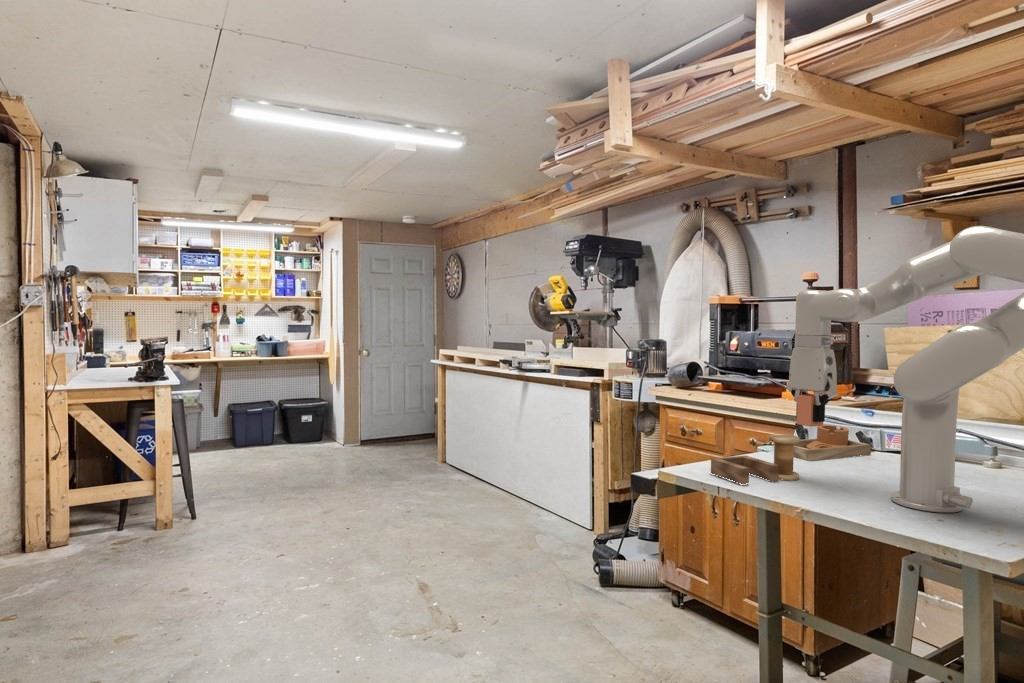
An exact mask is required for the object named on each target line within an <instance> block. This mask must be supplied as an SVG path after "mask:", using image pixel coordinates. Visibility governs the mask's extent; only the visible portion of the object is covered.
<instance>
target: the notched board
mask: <svg viewBox="0 0 1024 683" xmlns="http://www.w3.org/2000/svg"><path fill="white" fill-rule="evenodd" d="M711 473H712V474H715V475H718V476H721V477H724V478H727V479H730V480H733V481H735V482H738V483H741V484H746V483H749V484H750V475H749V473H750V474H753V475H756V476H759V477H762V478H764V479H767V480H770V481H778V482H779V481H780V480H779V465H777V464H774V462H769V461H766V460H763V459H759V458H756V457H752V456H748V455H737V456H726V457H717V458H711V459H710V474H711ZM770 481H769V482H770Z"/></svg>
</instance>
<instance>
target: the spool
mask: <svg viewBox="0 0 1024 683" xmlns="http://www.w3.org/2000/svg"><path fill="white" fill-rule="evenodd" d="M800 440H801V438H800V436H797V435H792V434H781V433H774V434H769V435H768V441H769V442H773V443H774V444H773V447H774V448H773V464H777V465H779V479H783V480H782V481H786V480H794V481H797V480H796V479H798V478H800V475H799V472H795V471H794V457H793V456H794V444H796V443H799V442H800ZM798 480H799V479H798Z"/></svg>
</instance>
